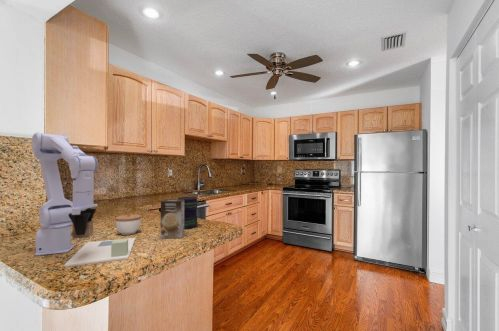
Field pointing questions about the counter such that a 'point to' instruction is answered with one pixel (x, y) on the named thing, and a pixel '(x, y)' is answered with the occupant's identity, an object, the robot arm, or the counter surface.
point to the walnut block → (87, 233)
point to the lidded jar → (128, 223)
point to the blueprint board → (97, 253)
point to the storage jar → (190, 212)
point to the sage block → (119, 247)
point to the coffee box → (172, 218)
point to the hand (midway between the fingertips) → (83, 232)
